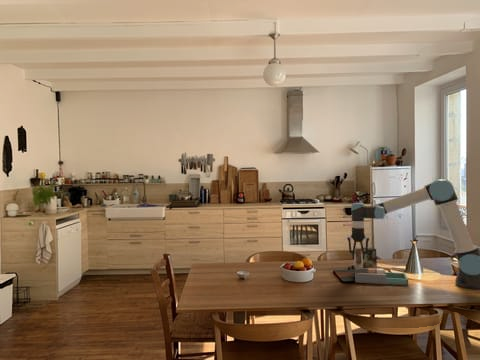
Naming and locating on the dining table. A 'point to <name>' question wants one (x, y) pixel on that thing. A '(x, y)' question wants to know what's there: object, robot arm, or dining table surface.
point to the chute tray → (396, 278)
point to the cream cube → (380, 271)
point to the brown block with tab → (358, 257)
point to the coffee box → (370, 258)
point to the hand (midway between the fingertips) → (358, 264)
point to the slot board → (369, 276)
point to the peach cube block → (371, 270)
